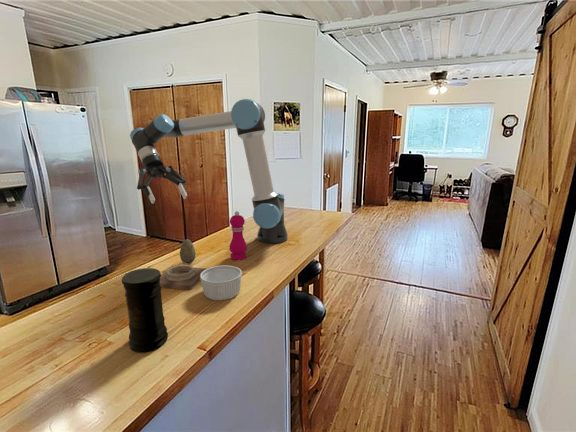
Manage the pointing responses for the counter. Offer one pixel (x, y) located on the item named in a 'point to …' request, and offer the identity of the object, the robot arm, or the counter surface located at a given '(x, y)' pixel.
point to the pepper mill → (237, 238)
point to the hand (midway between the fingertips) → (170, 199)
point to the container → (145, 309)
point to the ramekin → (221, 282)
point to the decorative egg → (187, 252)
